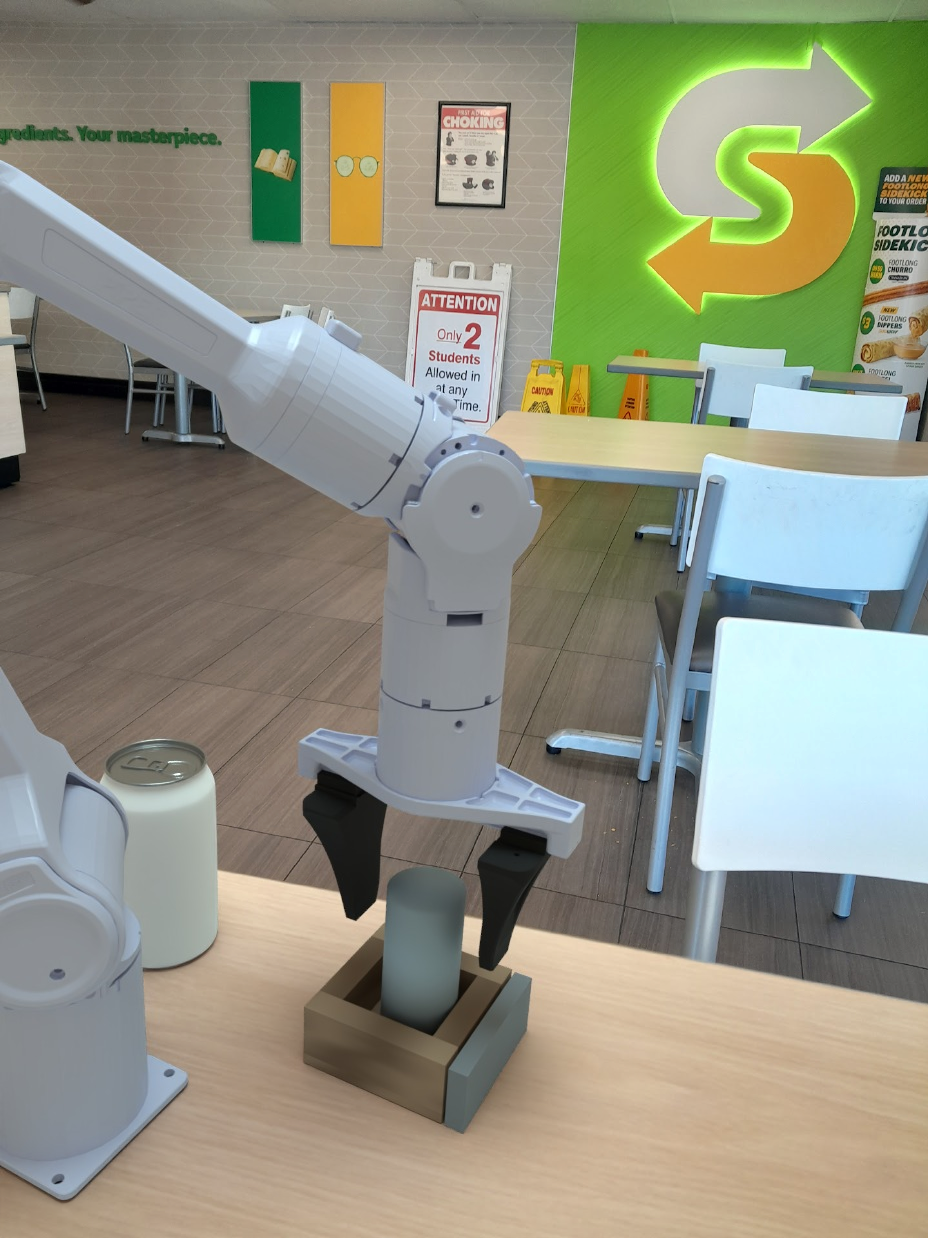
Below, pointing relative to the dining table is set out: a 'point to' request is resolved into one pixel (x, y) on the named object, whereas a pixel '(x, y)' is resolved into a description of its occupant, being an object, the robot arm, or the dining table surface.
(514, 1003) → the backstop wall
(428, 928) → the dowel
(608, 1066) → the dining table surface
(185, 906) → the can
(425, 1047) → the frame
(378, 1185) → the dining table surface
